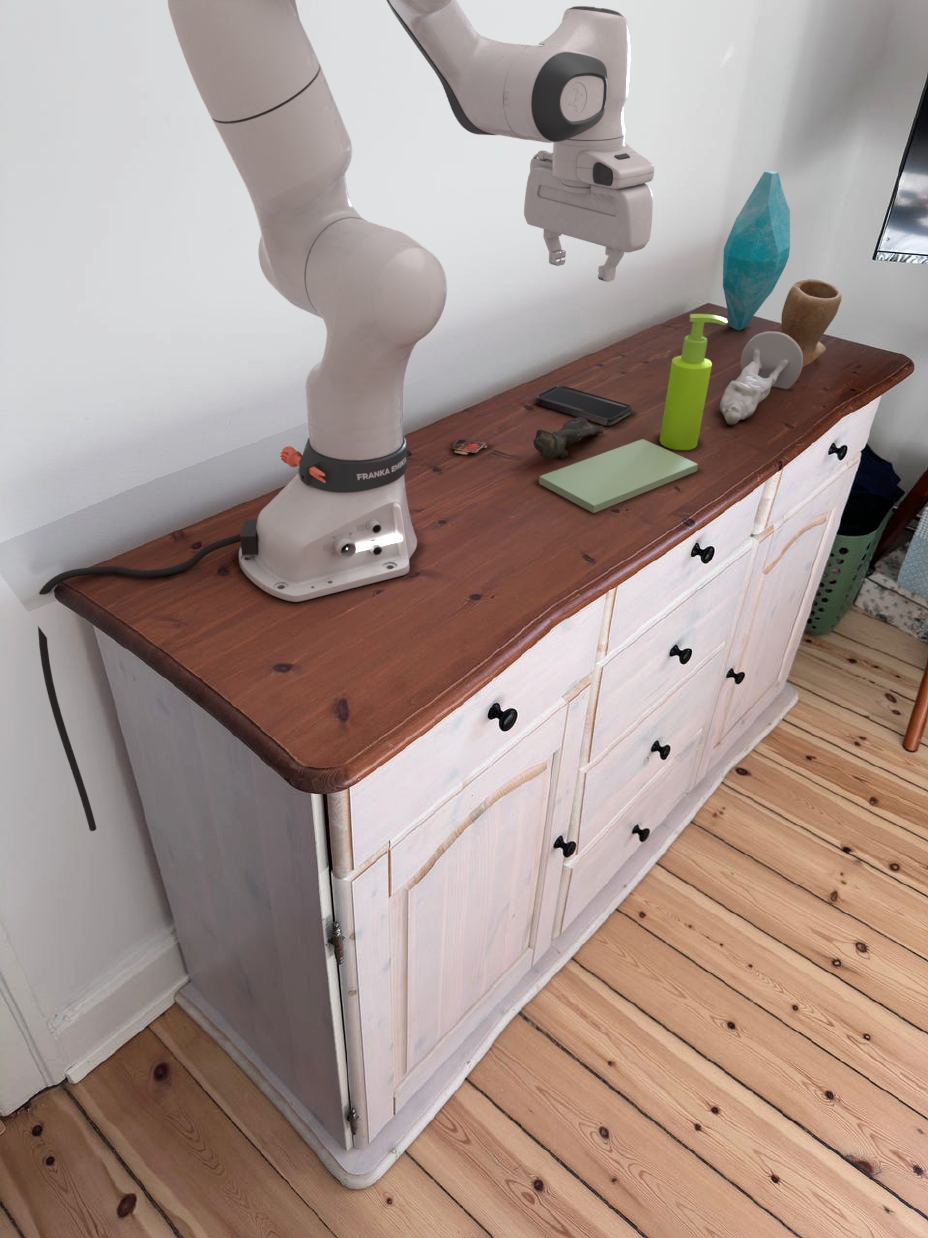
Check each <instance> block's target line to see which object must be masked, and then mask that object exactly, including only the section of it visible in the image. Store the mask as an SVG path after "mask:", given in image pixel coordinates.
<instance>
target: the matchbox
mask: <svg viewBox="0 0 928 1238" xmlns="http://www.w3.org/2000/svg"><path fill="white" fill-rule="evenodd" d="M482 448H484V449H486V448H488V444H486V442H481V441H476V440H471V439H457V440H456V441H455V442H454V443H453V444H452V449H453V450H454V453H455V454H459V455H469V453H475V454H476V453H478V451H479V450H481V449H482Z"/></svg>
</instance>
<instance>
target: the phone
mask: <svg viewBox="0 0 928 1238" xmlns="http://www.w3.org/2000/svg"><path fill="white" fill-rule="evenodd" d="M535 399H536V400H535V403H536V405H537V406H541V407H544V408H548V409H550V410H554V411H557V412H561V413H563V414H566V415H570V416H573V417H575V418H579V417H583V418H585V419H586V420H587V421H590V422H593V423H595V424H599V425H601V426H607V427H609V426H610V427H611V426H613V425H616V424H617V423H619V422H621V421H622V420H624V419H625V418H628V417H629V416H630V415H631V414H632V409H633V408H632V406H631V405H630V404H627V403H623V402H620V401H617V400H614V399H609V398H607V397H603V396H600V395H596V394H593V393H589V392H587V391H586V392H585V391H583V390H580V389H575V388H572V387H569V386H566V385H555V386H553V387H551V388H549V389H547V390H545V391H543V392H541V393H539V394H537V395H536V398H535Z"/></svg>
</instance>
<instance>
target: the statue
mask: <svg viewBox="0 0 928 1238" xmlns="http://www.w3.org/2000/svg"><path fill="white" fill-rule="evenodd" d="M535 434H536V435H535V438H534V439H533V441H532V442H533V443H532V444H533V445H534V449H535V450H536V451H538V453H539V456H540V457H542V458H543V459H546V460H547V459H549V460H550V459H552V458H556V459H557V458H561V459H564V458H566V457H568V456H569V453H568V450H567V449H566V446H569V445H572V444H577V443H579V442H581V440H582V439H583V438H584V437H586V436H589V437H597V436H599V435H600V434H604V428H603V425H599V426H595V424H592V423H589V422H588V420H586V419H585V418H583V417H575V418H570V419H569V420H567V421H566V422H565V423H564V424H563V425H562V427H561V429H559V430H557V431H553V432H550V431H547V430H544V429H538V430H537V429H536V433H535Z"/></svg>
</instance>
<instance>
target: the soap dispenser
mask: <svg viewBox="0 0 928 1238" xmlns="http://www.w3.org/2000/svg"><path fill="white" fill-rule="evenodd" d="M689 323H692V324H691V325H692V326H691V330H690V333H689V334H688V335H686V336H684V339H683V344H682V345H683V346H682V350H681V355H677V356H674V357H673V358H672V359H671V366H670V372H669V378H668V384H667V390H666V396H665V403H664V409H663V416H662V421H661V427H660V428H661V429H660V434H659V443H660V444H661V445H662V446H663V447H665V448H666V449H670V450H674V451H690V450H694V449H696V447H697V446H698V442H699V438H700V437H699V436H700V431H701V425H702V420H703V415H704V409H705V405H706V399H707V395H708V394H707V393H708V388H709V382H710V378H711V372H712V366H713V363H712V361H711V360H710V359H708V358H705V357H706V351H707V346H708V338H707V337H705V335H704V330H705V323H713V324H717V325H721V326H726V325H728V319H727V318H726V317H723V316H720V315H716V314H709V313H690V314H689Z"/></svg>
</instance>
